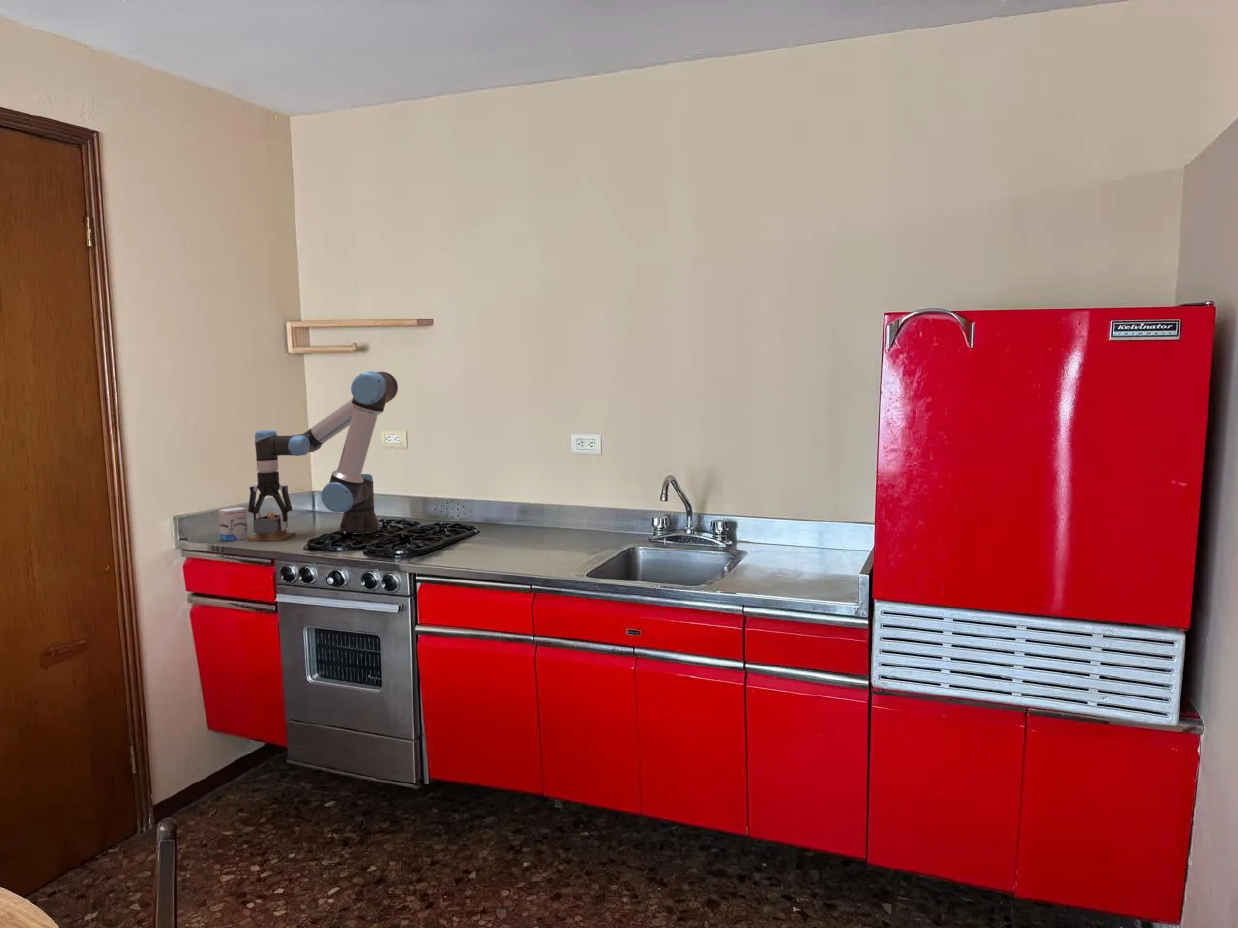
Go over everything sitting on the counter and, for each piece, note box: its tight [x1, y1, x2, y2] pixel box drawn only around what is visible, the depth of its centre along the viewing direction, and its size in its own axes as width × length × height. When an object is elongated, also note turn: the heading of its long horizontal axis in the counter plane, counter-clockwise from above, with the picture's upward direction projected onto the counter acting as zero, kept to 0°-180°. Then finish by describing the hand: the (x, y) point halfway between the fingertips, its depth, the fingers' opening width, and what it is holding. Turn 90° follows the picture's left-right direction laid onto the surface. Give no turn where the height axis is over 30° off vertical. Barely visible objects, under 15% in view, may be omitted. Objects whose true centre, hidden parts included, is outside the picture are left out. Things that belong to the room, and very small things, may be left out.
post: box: [266, 512, 275, 519], centre depth 310 cm, size 2×3×6 cm
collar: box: [253, 514, 289, 534], centre depth 310 cm, size 8×11×5 cm
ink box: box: [218, 506, 249, 543], centre depth 309 cm, size 9×5×12 cm, turn 143°
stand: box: [247, 528, 297, 542], centre depth 310 cm, size 14×10×3 cm
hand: (271, 530), depth 310 cm, fingers open, 9 cm apart
